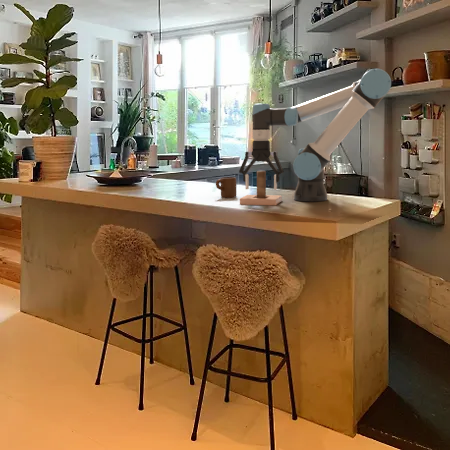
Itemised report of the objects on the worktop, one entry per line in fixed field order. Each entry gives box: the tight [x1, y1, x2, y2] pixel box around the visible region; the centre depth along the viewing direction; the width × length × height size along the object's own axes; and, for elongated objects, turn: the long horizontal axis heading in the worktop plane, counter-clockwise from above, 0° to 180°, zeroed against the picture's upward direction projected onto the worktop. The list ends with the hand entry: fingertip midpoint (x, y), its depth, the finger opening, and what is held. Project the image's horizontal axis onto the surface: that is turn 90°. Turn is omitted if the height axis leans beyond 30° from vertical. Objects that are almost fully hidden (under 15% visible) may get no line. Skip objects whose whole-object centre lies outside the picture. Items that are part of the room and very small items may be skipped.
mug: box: [215, 176, 237, 199], centre depth 254 cm, size 12×8×9 cm, turn 135°
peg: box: [256, 170, 267, 198], centre depth 234 cm, size 4×4×14 cm
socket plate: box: [239, 194, 283, 206], centre depth 235 cm, size 14×16×2 cm
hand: (261, 189), depth 234 cm, fingers open, 12 cm apart
